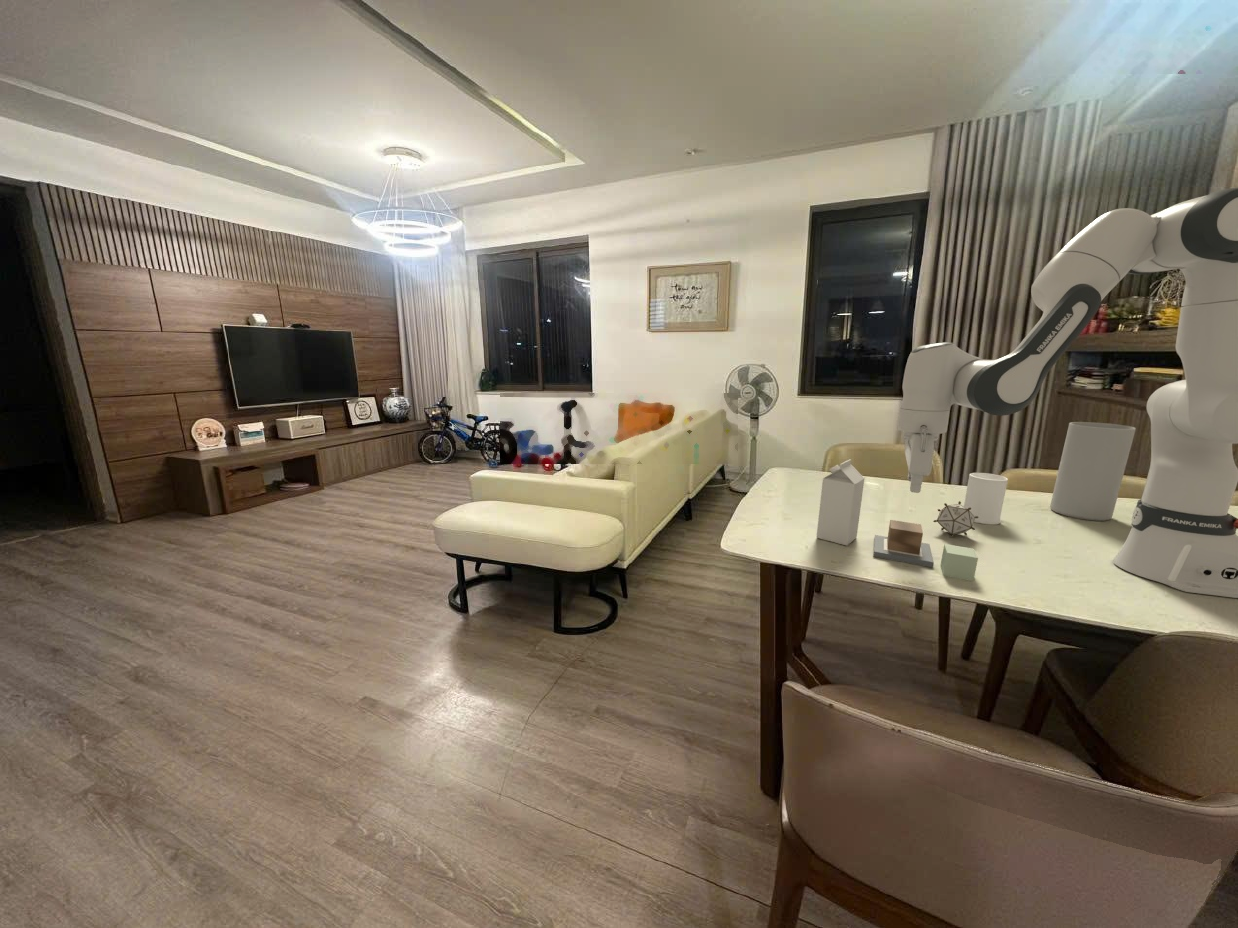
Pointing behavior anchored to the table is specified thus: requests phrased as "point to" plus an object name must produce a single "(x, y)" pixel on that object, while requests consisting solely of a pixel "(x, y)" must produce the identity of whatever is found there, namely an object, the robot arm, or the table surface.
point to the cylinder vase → (1091, 470)
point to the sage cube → (959, 562)
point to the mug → (985, 497)
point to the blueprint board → (902, 553)
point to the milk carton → (840, 504)
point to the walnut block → (904, 537)
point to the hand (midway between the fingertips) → (913, 486)
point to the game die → (956, 519)
